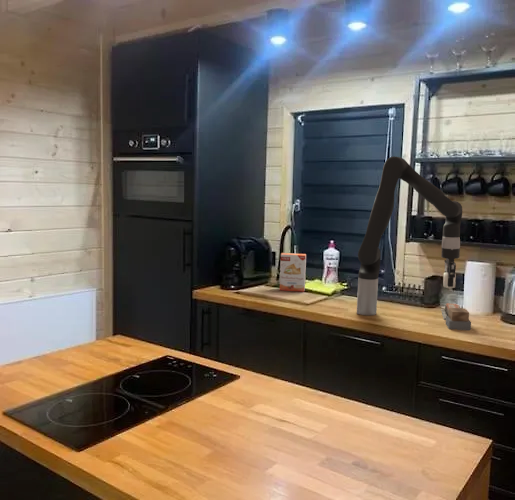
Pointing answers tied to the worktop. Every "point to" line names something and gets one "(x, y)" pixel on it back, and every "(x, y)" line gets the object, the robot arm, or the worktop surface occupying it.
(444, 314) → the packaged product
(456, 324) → the charcoal base block
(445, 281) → the cream cylinder
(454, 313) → the walnut block
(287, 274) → the cracker box
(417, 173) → the robot arm
